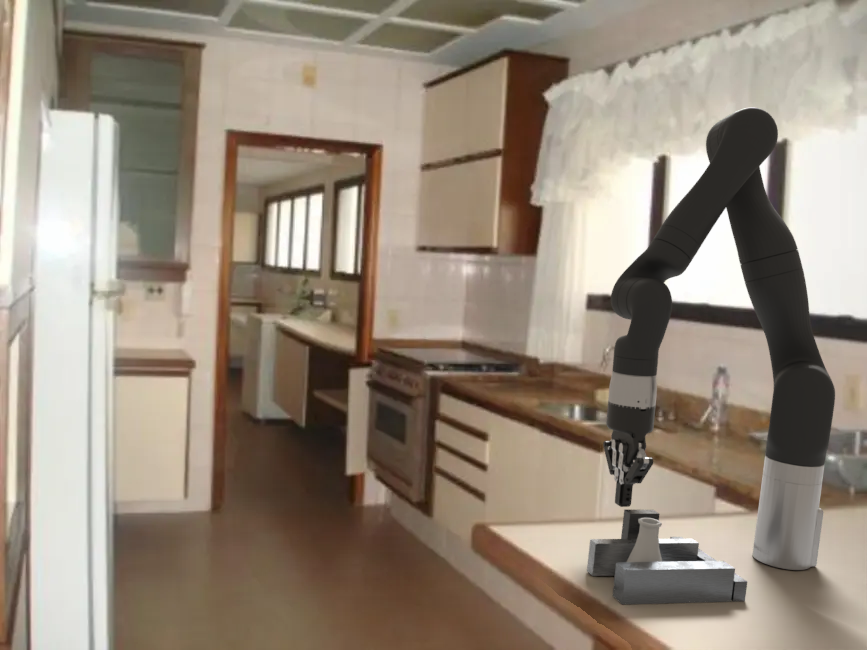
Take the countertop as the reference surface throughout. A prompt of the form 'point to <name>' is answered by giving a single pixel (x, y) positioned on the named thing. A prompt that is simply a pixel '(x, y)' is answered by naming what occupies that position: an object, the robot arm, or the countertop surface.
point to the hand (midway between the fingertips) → (622, 505)
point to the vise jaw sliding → (619, 550)
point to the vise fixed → (678, 581)
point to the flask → (647, 542)
